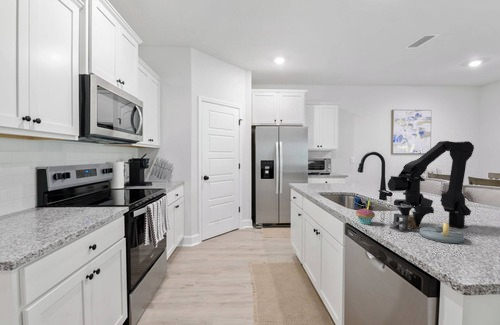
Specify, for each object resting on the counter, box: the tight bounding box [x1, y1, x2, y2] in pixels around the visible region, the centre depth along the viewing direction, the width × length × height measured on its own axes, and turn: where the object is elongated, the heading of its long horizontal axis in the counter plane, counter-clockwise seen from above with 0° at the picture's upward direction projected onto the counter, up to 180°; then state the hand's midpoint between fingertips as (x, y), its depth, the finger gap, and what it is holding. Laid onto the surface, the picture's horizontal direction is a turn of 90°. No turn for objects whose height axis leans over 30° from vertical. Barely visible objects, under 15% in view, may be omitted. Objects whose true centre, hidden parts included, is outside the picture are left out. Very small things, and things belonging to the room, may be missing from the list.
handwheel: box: [419, 222, 465, 244], centre depth 100 cm, size 14×14×7 cm
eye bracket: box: [389, 213, 413, 233], centre depth 111 cm, size 5×7×7 cm
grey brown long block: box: [390, 214, 418, 229], centre depth 112 cm, size 16×4×5 cm, turn 115°
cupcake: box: [355, 199, 376, 226], centre depth 121 cm, size 9×8×12 cm
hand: (412, 224), depth 114 cm, fingers open, 7 cm apart
